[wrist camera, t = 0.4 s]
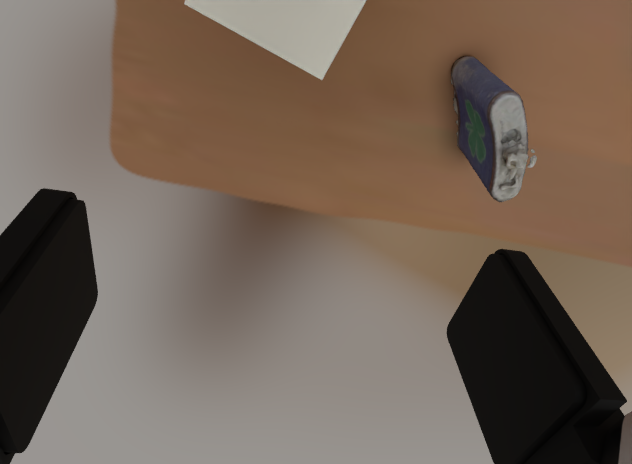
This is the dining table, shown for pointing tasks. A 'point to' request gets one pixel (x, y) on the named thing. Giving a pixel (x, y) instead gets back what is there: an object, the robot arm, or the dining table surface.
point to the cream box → (288, 26)
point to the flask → (490, 128)
